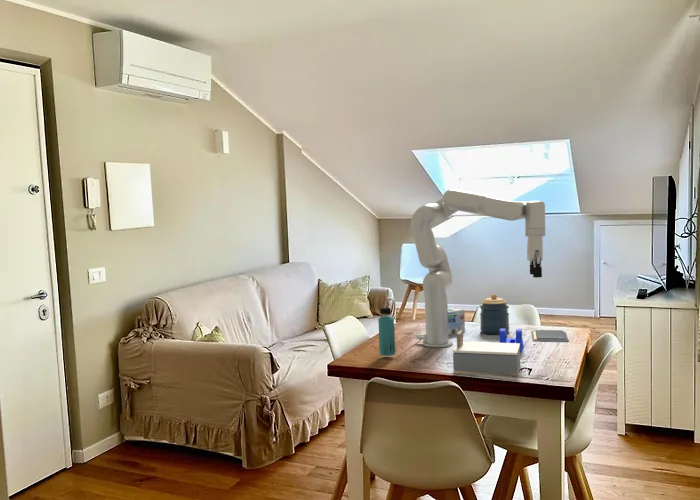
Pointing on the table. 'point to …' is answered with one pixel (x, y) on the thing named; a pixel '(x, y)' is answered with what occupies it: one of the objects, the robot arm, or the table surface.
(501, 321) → the canister
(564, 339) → the wallet
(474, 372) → the grey tray
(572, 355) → the table surface
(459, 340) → the lid
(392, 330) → the beverage bottle
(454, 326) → the light bulb box
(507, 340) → the bracket
